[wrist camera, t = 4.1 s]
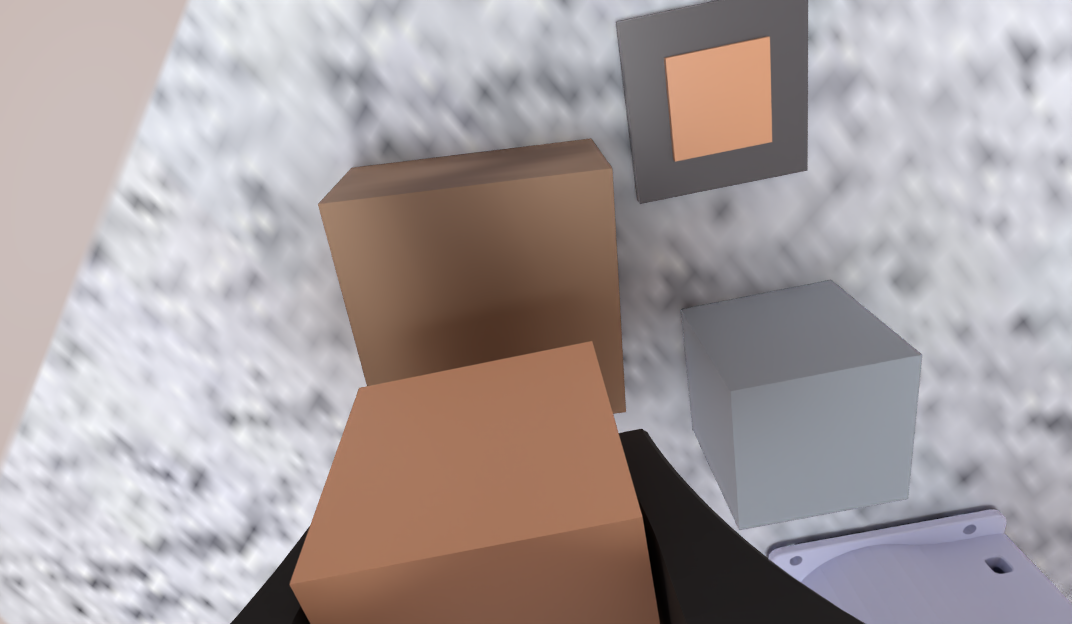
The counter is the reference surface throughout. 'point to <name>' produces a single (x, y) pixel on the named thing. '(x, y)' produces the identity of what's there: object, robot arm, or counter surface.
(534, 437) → the terracotta block
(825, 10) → the counter surface
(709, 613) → the robot arm
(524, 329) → the walnut block
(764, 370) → the slate block
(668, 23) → the card
